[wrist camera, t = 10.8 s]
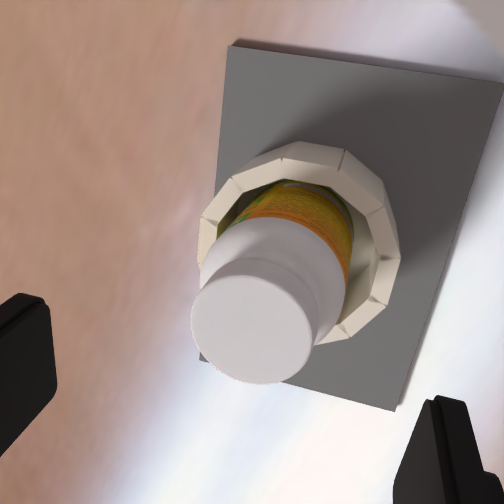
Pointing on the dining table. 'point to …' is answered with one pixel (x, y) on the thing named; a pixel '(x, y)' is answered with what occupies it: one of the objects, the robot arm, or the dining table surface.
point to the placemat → (381, 164)
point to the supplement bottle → (274, 282)
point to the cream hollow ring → (358, 202)
